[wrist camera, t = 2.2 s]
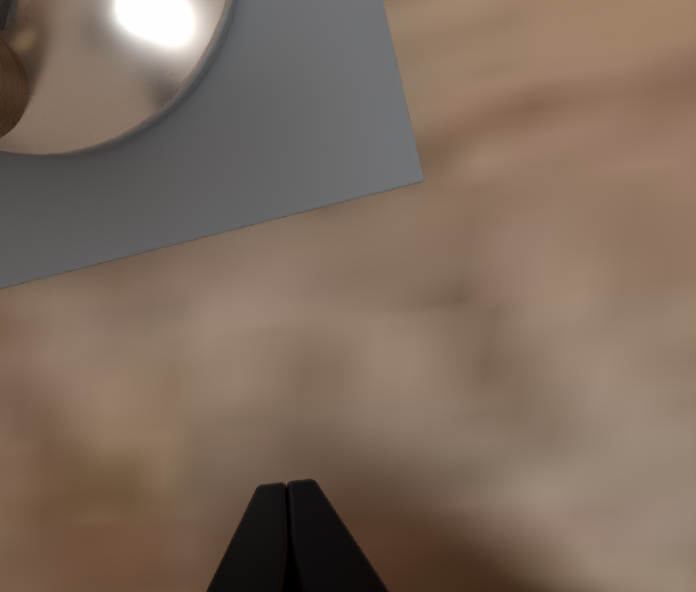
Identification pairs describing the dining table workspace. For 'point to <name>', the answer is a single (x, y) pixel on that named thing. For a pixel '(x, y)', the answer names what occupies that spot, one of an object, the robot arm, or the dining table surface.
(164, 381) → the dining table surface
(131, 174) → the dial board
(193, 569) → the dining table surface
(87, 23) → the dial
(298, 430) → the dining table surface
